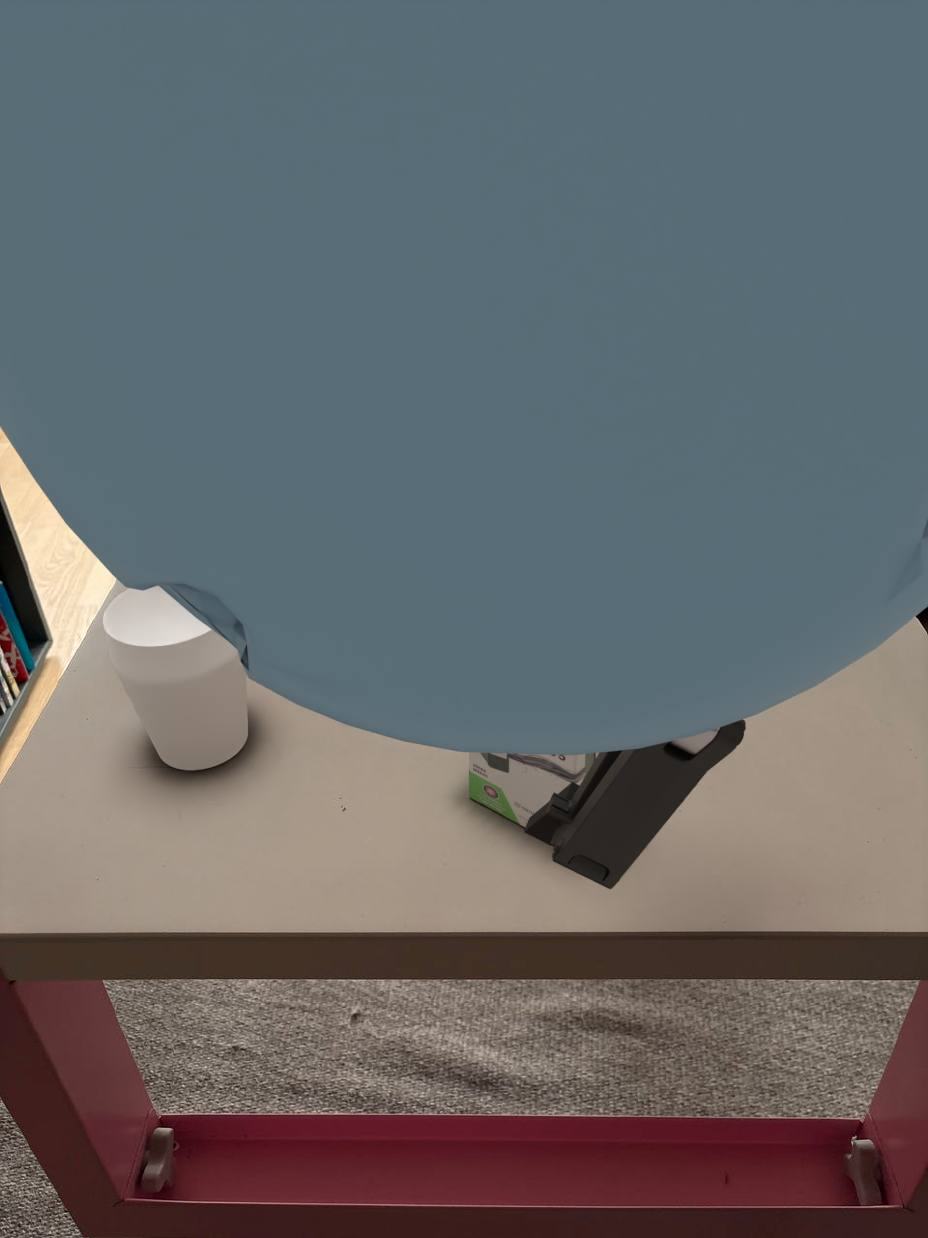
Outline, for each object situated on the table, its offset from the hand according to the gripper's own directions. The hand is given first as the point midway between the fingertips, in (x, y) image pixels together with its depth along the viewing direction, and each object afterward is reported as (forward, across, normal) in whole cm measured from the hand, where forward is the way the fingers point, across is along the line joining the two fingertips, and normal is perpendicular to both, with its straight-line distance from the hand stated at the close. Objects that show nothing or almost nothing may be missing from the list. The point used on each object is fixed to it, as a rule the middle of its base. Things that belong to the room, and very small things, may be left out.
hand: (599, 714), depth 48 cm
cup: (+28, -3, +21) cm, 36 cm away
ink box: (+19, +1, -2) cm, 19 cm away
